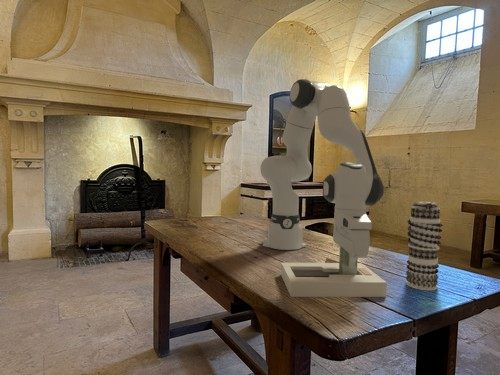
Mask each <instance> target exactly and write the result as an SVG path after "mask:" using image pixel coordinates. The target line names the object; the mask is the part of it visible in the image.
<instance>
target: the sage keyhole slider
mask: <svg viewBox="0 0 500 375" xmlns="http://www.w3.org/2000/svg"><path fill="white" fill-rule="evenodd" d="M358 259H359V258H357V260H356V262H355V268H349V267H348V266H347V261H349V253H348V252H347V251H345V250H344V249H343V248H342V247H340V246H339V259H338V262H339V274H330V275H357V263H358Z"/></svg>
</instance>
